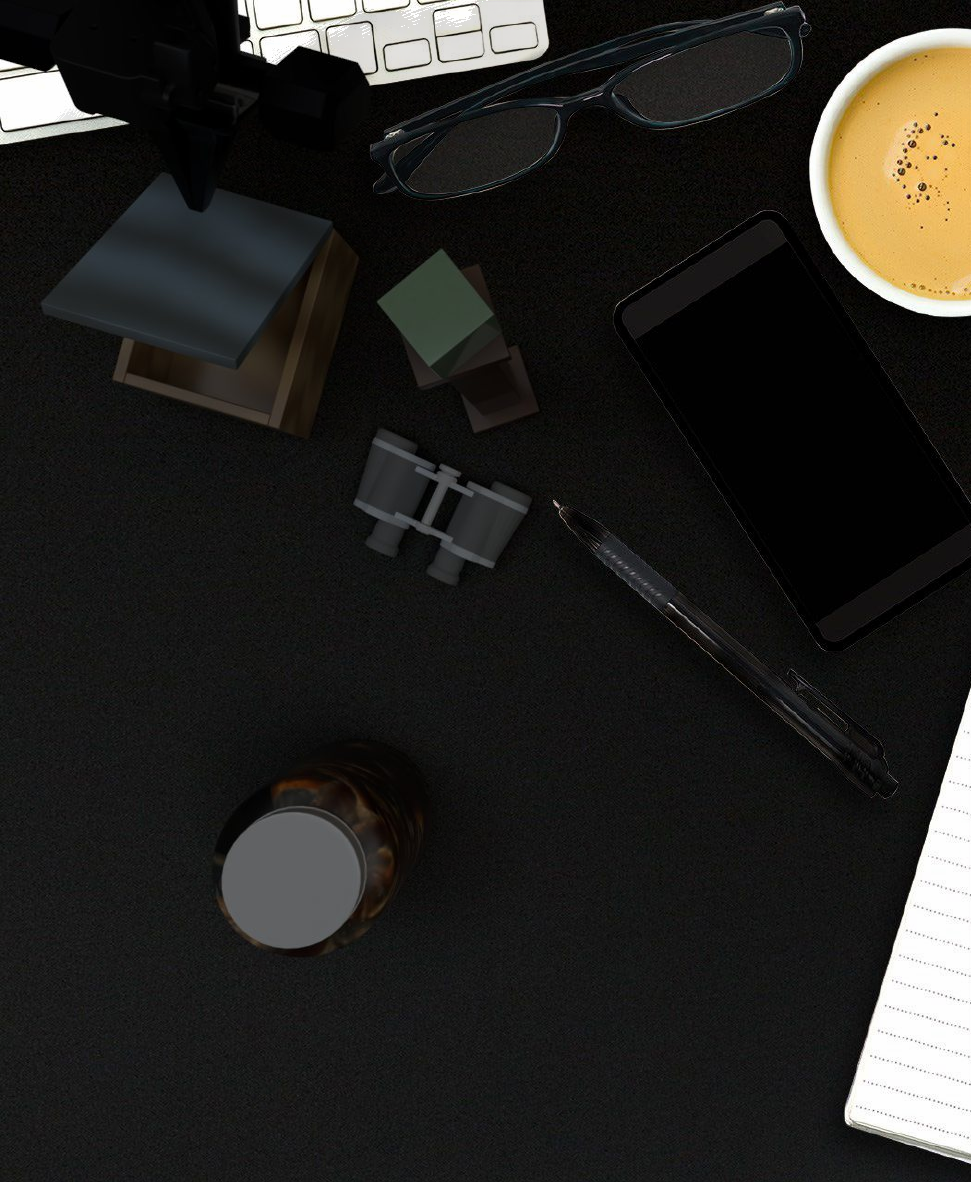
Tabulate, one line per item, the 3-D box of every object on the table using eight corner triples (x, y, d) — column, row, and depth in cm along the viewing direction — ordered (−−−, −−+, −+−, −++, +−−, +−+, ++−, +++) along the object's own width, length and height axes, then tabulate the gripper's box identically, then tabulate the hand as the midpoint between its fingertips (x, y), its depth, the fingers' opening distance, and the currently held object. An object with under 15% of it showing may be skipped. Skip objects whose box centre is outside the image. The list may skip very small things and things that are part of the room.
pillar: (453, 369, 76) (386, 295, 54) (518, 346, 76) (478, 262, 54) (475, 435, 76) (418, 388, 54) (541, 412, 76) (510, 356, 54)
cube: (393, 319, 54) (376, 301, 50) (454, 270, 54) (441, 247, 50) (442, 381, 54) (428, 367, 50) (503, 331, 54) (494, 314, 50)
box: (308, 440, 76) (278, 429, 70) (156, 395, 77) (111, 380, 70) (360, 257, 76) (334, 228, 69) (206, 212, 76) (165, 179, 69)
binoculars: (535, 499, 76) (531, 496, 73) (488, 599, 77) (482, 601, 73) (384, 429, 76) (373, 423, 73) (339, 530, 77) (325, 529, 73)
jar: (296, 719, 77) (219, 759, 62) (450, 760, 77) (410, 810, 62) (257, 873, 78) (172, 950, 63) (410, 914, 78) (361, 1001, 63)
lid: (237, 370, 60) (235, 360, 60) (43, 314, 60) (40, 302, 60) (333, 232, 69) (332, 221, 68) (163, 182, 69) (161, 171, 68)
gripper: (-125, -99, 46) (-35, 228, 57) (286, 20, 46) (294, 324, 57) (24, -155, 53) (77, 143, 65) (377, -54, 53) (368, 228, 65)
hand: (199, 208), depth 63 cm, fingers closed
